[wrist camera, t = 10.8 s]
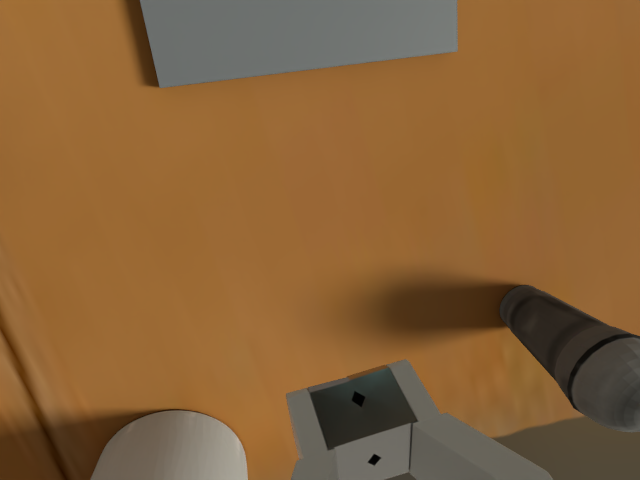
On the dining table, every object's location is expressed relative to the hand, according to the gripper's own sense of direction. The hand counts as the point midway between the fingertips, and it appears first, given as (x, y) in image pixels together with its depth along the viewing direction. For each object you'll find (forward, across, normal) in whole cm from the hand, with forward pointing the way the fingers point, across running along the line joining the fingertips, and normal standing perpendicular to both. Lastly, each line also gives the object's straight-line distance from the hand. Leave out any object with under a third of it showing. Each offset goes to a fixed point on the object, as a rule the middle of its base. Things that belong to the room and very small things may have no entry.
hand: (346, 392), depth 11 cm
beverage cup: (+21, -24, +22) cm, 39 cm away
